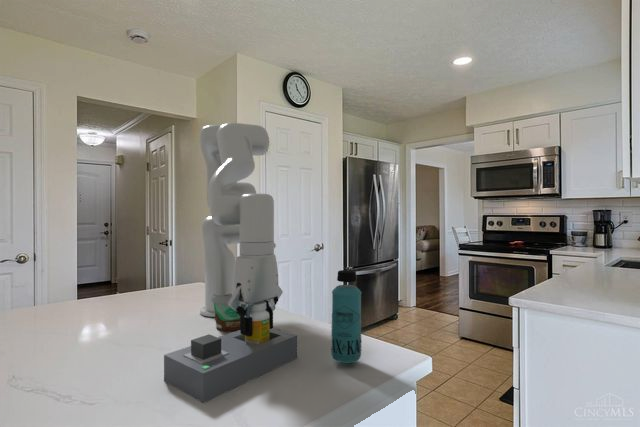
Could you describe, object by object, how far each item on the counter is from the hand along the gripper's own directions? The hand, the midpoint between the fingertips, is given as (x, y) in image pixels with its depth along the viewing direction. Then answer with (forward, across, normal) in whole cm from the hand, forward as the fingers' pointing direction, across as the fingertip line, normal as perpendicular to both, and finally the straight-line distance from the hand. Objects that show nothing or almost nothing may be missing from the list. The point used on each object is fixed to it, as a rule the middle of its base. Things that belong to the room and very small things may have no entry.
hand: (257, 330), depth 79 cm
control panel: (+6, +6, 0) cm, 9 cm away
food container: (+7, -10, -20) cm, 23 cm away
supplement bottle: (+4, 0, 0) cm, 4 cm away
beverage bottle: (+6, -10, +17) cm, 21 cm away
